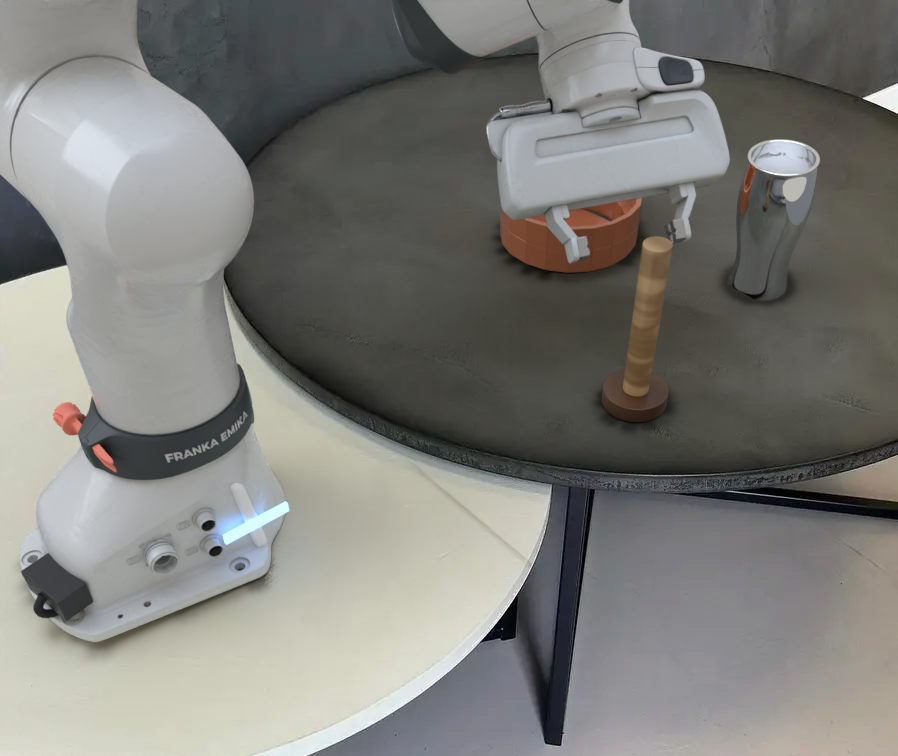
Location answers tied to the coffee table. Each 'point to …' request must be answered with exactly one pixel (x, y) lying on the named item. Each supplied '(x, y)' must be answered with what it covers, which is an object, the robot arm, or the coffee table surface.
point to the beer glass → (772, 215)
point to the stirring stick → (642, 342)
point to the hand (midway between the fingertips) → (630, 251)
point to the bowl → (603, 236)
